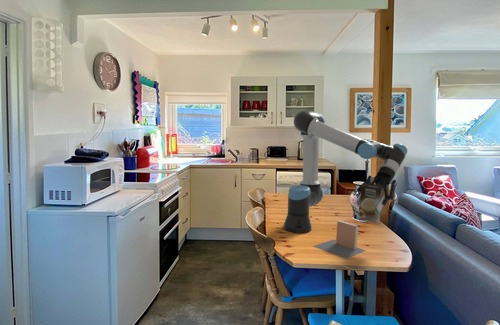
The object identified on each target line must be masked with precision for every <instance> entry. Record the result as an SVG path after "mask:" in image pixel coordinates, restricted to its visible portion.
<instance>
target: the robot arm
mask: <svg viewBox="0 0 500 325" xmlns="http://www.w3.org/2000/svg"><path fill="white" fill-rule="evenodd" d="M293 125H294V127H295V129H296V130H297V131H299V132H300V136H301V137H302V139H303V143H302V144H303V145H302V148H303V149H302V151H303V154H302V179H301V181H300V182H299V184H298V185H292V186H291V187H289V189H288V193H287V215H286V218H285V220H284V223H283V229H284V230H285V231H287V232H291V233H295V234H296V233H297V234H303V233H304V234H305V233H310V232H311V231H312V223H311V219H310V218H311V217H310V208H311V207H313V206H316V205H318V204H319V203H320V202H322V200H323V198H324V191H323V188H322V187H321V181H319V146H320V145H319V142H320V141H319V139H322V140H324V141H327V142H330V143H331V144H333V145H336V146H339V147H340V148H343V149H345V150H347V151H350V152H353V153H354V154H356V155H358V156H359V157H360V158H361V159H364V160H371V159H374V158H377V159H380V160H383V162H382V164H381V165H380V167H379V169H378V170H377V173H376V175H375V176H374V177H373V176H372V175H368V177H367V179H366V180H364V181H363V182H362V183H361V185H359V186H358V187H357V188H356V191H357V193H358V194H357V196H356V198H357V199H356V200H355V202H354V204H355V205H356V206H357V207H359V204H360V195H361V186H362V185H363V184H371V185H376V186H382V187H384V193H383V197H382V199H381V201H380V203H379V204H378V206H377V210H378V211H379V212H380V211H381V212H382V209H383V207H384V206H386V205H387V203H388V201H389V200H391V201H393V200H395V193H396V192H395V191H396V187H397V185H398V182H397V180H396V179H394V178H395V176H396V174H397V173H398V171H399V169H400V167H401V165H402V164H403V162H404V160H405V159H406V156H407V154H408V148H407V147H406V146H405V145H404V144H402V143H394V144H393V145H389V144H388V145H387V144H385V143H381V142H378V141H376V140H373V139H368V140H365V139H363V138H360V137H359V136H356V135H353V134H351V133H348V132H346V131H344V130H341V129H339V128H336V127H334V126H331V125H330V124H328V123H326V121H325V118H324V116H323V115H322V114H321V113H320V112H317V111H313V110H312V111H310V110H300V111H299V112H297V113H296V114H295V116H294V118H293ZM388 185H390V188H388Z"/></svg>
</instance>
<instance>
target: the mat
mask: <svg viewBox="0 0 500 325" xmlns="http://www.w3.org/2000/svg"><path fill="white" fill-rule="evenodd" d="M312 247H314V248H317V249H319V250H322V251H324V252H327V253H330V254H332V255H335V256H338V257H340V258H343V259H345V260H346V259H349V258H351V257H354V256H357V255H359V254H361V253H364V252H366V249H363V248H360V247H357V249H351V248H348V247H346V246H343V245H340V244H337V243H336V239H330V240H328V241H324V242H321V243H319V244H315V245H313V246H312Z"/></svg>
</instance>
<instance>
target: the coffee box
mask: <svg viewBox="0 0 500 325" xmlns="http://www.w3.org/2000/svg"><path fill="white" fill-rule="evenodd" d="M362 184H363V183H362ZM362 184H361V185H362ZM361 185H360V186H361ZM382 197H384V187H382V186H376V185H371V184H363V185H362V186H361V195H360V204H359V206H358V216H357V220H362V221H366V222H371V223H373V224H374V223H375V224H378V223H379V222H380V221H381V218H382V216H381V215H382V210H381V211H380V212H379V211H378V210H377V206H378V204H379V203H380V201H381V199H382Z"/></svg>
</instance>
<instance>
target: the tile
mask: <svg viewBox="0 0 500 325" xmlns="http://www.w3.org/2000/svg"><path fill="white" fill-rule="evenodd" d="M358 231H359V225H357V224H354V223H351V222H346V221H343V220H337V223H336V234H335V235H336V237H335V238H336V239H335V240H336V243H337V244H340V245H343V246H346V247H348V248H351V249H357V248H358V247H357V246H358V235H359V234H358Z"/></svg>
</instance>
